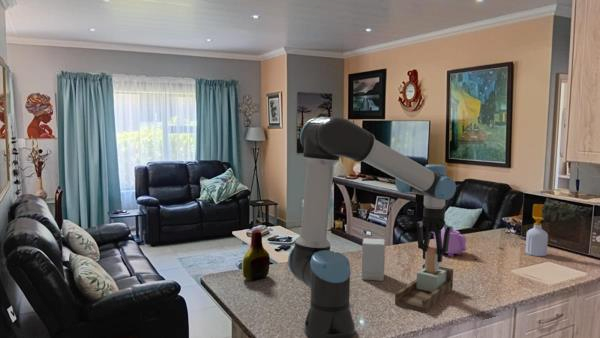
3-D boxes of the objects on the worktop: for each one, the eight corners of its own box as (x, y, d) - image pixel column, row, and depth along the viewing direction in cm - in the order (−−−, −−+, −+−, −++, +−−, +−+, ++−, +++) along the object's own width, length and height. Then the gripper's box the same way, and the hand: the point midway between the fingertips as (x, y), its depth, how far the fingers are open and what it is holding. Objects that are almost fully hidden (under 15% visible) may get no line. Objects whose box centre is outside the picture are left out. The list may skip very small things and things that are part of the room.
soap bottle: (527, 255, 215) (530, 204, 212) (524, 250, 224) (526, 201, 221) (548, 257, 212) (551, 205, 210) (544, 252, 221) (547, 202, 218)
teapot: (421, 250, 223) (422, 225, 222) (440, 245, 231) (441, 221, 230) (456, 260, 207) (457, 233, 206) (475, 255, 215) (476, 229, 214)
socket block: (437, 293, 162) (437, 277, 162) (416, 288, 167) (416, 272, 167) (445, 286, 170) (446, 270, 169) (425, 281, 174) (426, 266, 174)
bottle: (266, 273, 188) (266, 226, 186) (273, 278, 182) (273, 229, 180) (239, 278, 182) (239, 229, 180) (245, 283, 176) (245, 233, 174)
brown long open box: (425, 312, 150) (426, 289, 149) (394, 304, 157) (395, 282, 156) (452, 289, 171) (453, 269, 170) (424, 283, 177) (425, 263, 177)
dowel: (434, 279, 165) (435, 250, 164) (424, 277, 168) (425, 248, 166) (438, 276, 168) (439, 247, 167) (428, 274, 171) (429, 245, 170)
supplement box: (383, 281, 179) (384, 244, 178) (361, 279, 181) (361, 243, 180) (384, 274, 188) (385, 238, 187) (362, 272, 190) (363, 237, 188)
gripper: (459, 207, 163) (457, 271, 166) (417, 202, 173) (415, 262, 175) (452, 211, 157) (449, 276, 160) (409, 205, 167) (407, 267, 170)
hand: (431, 268), depth 168 cm, fingers closed on dowel, 3 cm apart
